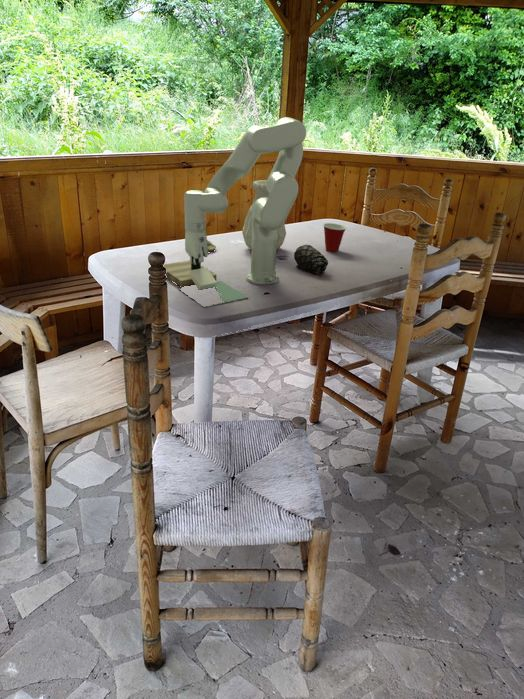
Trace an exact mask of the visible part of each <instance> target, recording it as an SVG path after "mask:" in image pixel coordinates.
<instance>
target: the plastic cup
mask: <svg viewBox="0 0 524 699" xmlns="http://www.w3.org/2000/svg"><path fill="white" fill-rule="evenodd" d="M322 226H323V230H324V231H323V233H324V244H325V251H326V252H327V253H331V254H332V253H333V254H334V253H338V252H339V250H340V246H341V243H342V240H343V236H344V234H345V231H346V230H347V229H348V228H347V227H346V226H345V225H342V224H339V223H331V222H330V223H329V222H327V223H323V224H322Z"/></svg>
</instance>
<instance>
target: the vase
mask: <svg viewBox="0 0 524 699" xmlns="http://www.w3.org/2000/svg"><path fill="white" fill-rule="evenodd" d="M266 182H267V179H264V180H260V179H259V180H255V181H252V184H251V186H252V189H253V190H254V191H255V194H254V198H253V202H252V203H251V205H250V207H249V208H248V211H247V214H246V215H245V218H244V224H243V227H242V231H241V233H242V237H243V240H244V244H245V245H246V246H247V248H249V249H250V250H252V217H251V211H252V206H253V204H254V203H255V201H256V200H258V199H259V198H262V197H267V198H268V197H269V195H270V193H269V192H268V191H267V188H266ZM286 235H287V231H286V226H285V222H284V223H283V225H282V226H281V227H280V228H278V229H277V245H276V251H277V250H278V249H280V248H281V247H282V246H283V244H284V241H285V239H286Z"/></svg>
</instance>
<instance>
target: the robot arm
mask: <svg viewBox="0 0 524 699" xmlns="http://www.w3.org/2000/svg"><path fill="white" fill-rule="evenodd" d="M306 137H307V128H306V126H305V124H304V123H303V122H302V121H300V120H298V119H295V118H292V117H289V116H285V117H281V118H280V119H278V120H277V122H276V124H273V125H269V126H262V125H259V124H258V125H256V124H255V125H252V126H250V127H249V128H248V129H246V131H245V133H244V134H243V136H242V137H241V138H240V140H239V142H238V144H237V145H236V147H235V148H234V150H233V151H232V152H231V154H230V156H229V157H228V159H227V160H226V161H225V162H224V163H223V165H222V166H221V167H220V168H219V169H218V170H217V171H216V172H215V173H214V175H213V176H212V177H211V179H210V180H209V182H208V183H207V186H206V187H205V189H204V191H202V190H196V189H191V190H187V191H185V192H184V194H183V198H184V199H183V200H184V201H183V202H184V204H183V205H184V206H183V208H184V231H185V232H184V233H185V235H184V246H185V248H184V249H185V252H186V254H188V257H189V260H190V262H191V263H192V264H191V270H196V269H201V266H202V265H201V264H202V263H204V262H205V258H207V257H208V256H209V255H208V246H207V240H208V237H207V231H206V226H207V223H206V220H207V219H206V218H207V217H206V213H210V214H221V213H224V212H225V211H226V210H227V209H228V207H229V200H228V198H227V196H226V195H227V193H228V192H229V190H230V188H231V187H232V186H233V185H234V184H235V183H236V182H238V181H239V180H240V179H242V178H243V179H244V177H246V176H247V175H248V174H249V172H251V170H252V169H253V167H254V165H255V164H256V162H257V160H258V159H259V158H260V156H261V155H266V154H270V153H277V152H278V155H277V158H276V161H275V163H274V165H273V166H272V169H271V171H270V174H269V175H268V177H267V179H266V180H267V182H266V188H267V191H268V192H269V193H270V195H269V197H268V198H267V197H262V198H259V199H258V200H256V201H255V203H254V204H253V206H252V205H251V206H252V211H251V217H252V249H251V252H250V253H251V260H250V273H248V274H247V275H246V280H247V281H248V282H249V283H252V284H256V285H263V286H265V285H273V284H276V283H278V281H279V279H280V278H279V275H277V270H276V259H277V250H276V245H277V229H278V228H280V227H281V226H282V225H283V223H284V222H285V221H286V220H287V218H288V216H289V214H290V212H291V209H292V207H293V205H294V203H295V201H297V200H296V199H297V197H298V194H299V184H298V181H297V180H296V178H295V177H296V175H297V173H298V170H299V167H300V166H301V163H302V159H303V156H304V146H303V142H304V141H305V140H306Z"/></svg>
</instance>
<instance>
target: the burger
mask: <svg viewBox="0 0 524 699" xmlns="http://www.w3.org/2000/svg"><path fill="white" fill-rule="evenodd" d="M207 246H208V252H213V253H215V252H214V250H215V249H216V248H217V246H216V245H215V244H213V243H212V242H211V241H210V240H208V239H207Z"/></svg>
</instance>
